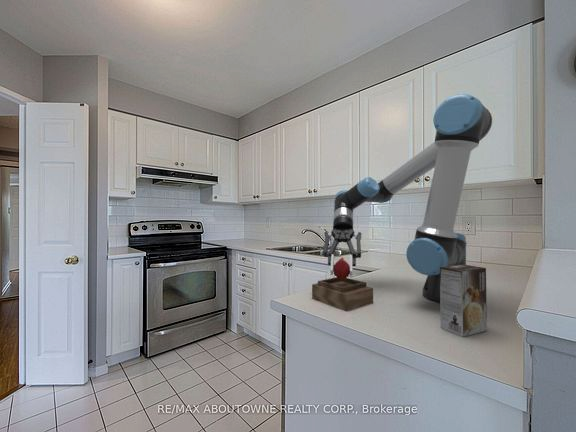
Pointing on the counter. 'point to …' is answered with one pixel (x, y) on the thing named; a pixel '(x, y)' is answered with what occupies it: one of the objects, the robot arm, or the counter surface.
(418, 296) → the counter surface
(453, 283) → the coffee box
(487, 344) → the counter surface
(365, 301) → the stand
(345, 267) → the onion
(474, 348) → the counter surface
